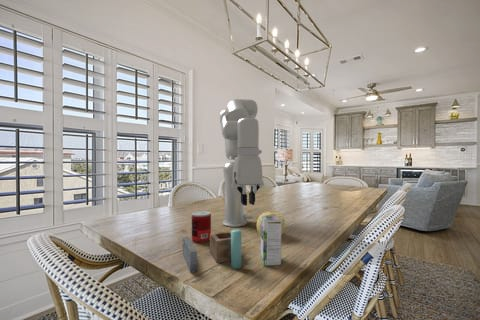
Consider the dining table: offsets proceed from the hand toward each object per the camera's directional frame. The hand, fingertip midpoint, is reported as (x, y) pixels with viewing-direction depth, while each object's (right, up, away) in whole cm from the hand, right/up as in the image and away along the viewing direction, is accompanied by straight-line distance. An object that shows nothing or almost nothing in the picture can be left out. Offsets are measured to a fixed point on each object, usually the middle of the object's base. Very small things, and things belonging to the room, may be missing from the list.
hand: (248, 204), depth 83 cm
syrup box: (+7, -17, -8) cm, 20 cm away
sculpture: (+10, -17, +16) cm, 26 cm away
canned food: (-19, -17, +13) cm, 29 cm away
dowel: (-4, -17, -11) cm, 21 cm away
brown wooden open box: (-8, -17, -3) cm, 19 cm away
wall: (-19, -17, -8) cm, 27 cm away
